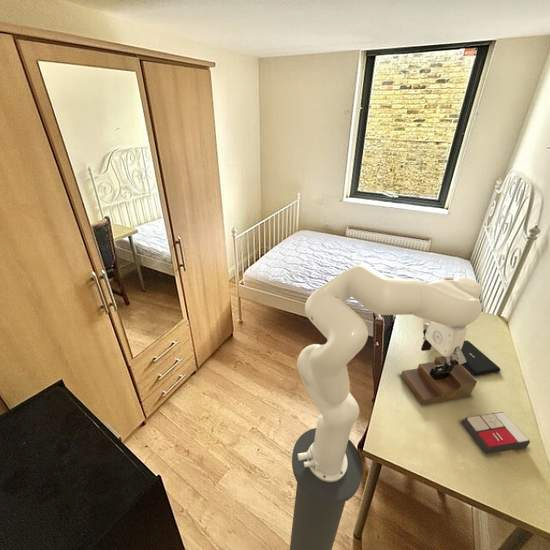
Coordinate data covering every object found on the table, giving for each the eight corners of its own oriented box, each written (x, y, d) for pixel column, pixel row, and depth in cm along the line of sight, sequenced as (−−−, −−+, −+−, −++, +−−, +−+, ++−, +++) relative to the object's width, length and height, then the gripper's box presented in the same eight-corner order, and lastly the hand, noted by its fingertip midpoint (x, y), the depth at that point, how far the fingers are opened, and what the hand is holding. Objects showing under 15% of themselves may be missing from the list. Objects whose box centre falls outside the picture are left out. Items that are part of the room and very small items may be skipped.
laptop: (467, 377, 121) (469, 373, 120) (440, 343, 138) (441, 340, 137) (503, 375, 122) (505, 372, 121) (472, 342, 139) (473, 339, 138)
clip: (447, 378, 113) (451, 369, 111) (434, 380, 112) (438, 371, 110) (441, 371, 116) (445, 363, 113) (429, 373, 115) (432, 365, 112)
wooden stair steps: (421, 405, 109) (427, 390, 105) (400, 375, 120) (405, 361, 116) (469, 396, 112) (477, 381, 109) (444, 368, 124) (450, 354, 120)
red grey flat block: (464, 416, 101) (504, 410, 102) (461, 423, 103) (499, 417, 104) (489, 447, 91) (532, 440, 93) (484, 455, 93) (526, 448, 95)
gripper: (423, 302, 92) (408, 343, 101) (464, 338, 78) (444, 383, 86) (443, 300, 94) (427, 341, 102) (488, 335, 79) (465, 379, 87)
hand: (435, 360), depth 94 cm, fingers open, 9 cm apart
